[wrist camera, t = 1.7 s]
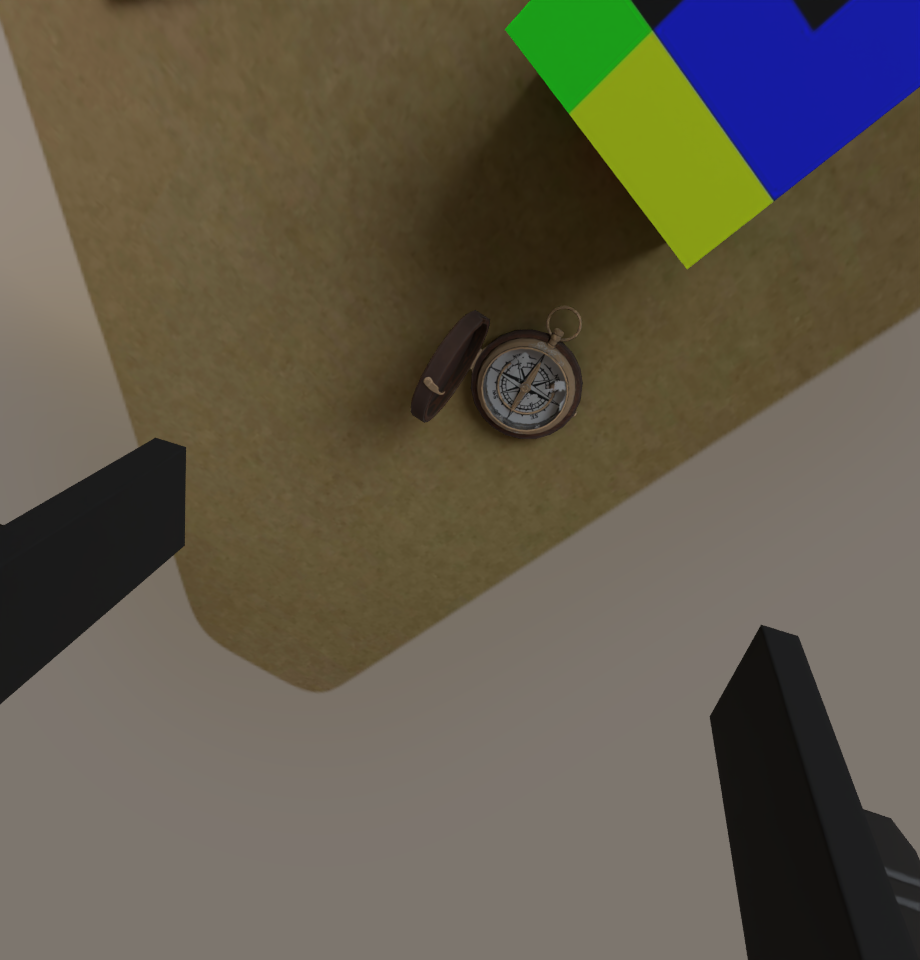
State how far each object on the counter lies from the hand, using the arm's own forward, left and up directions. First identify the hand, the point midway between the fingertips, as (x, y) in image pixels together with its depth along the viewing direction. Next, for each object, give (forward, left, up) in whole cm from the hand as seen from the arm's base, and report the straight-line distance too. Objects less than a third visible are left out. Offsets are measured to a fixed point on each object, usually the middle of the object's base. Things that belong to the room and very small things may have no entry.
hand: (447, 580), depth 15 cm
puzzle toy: (-4, -13, -24) cm, 27 cm away
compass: (+1, +2, -24) cm, 24 cm away
